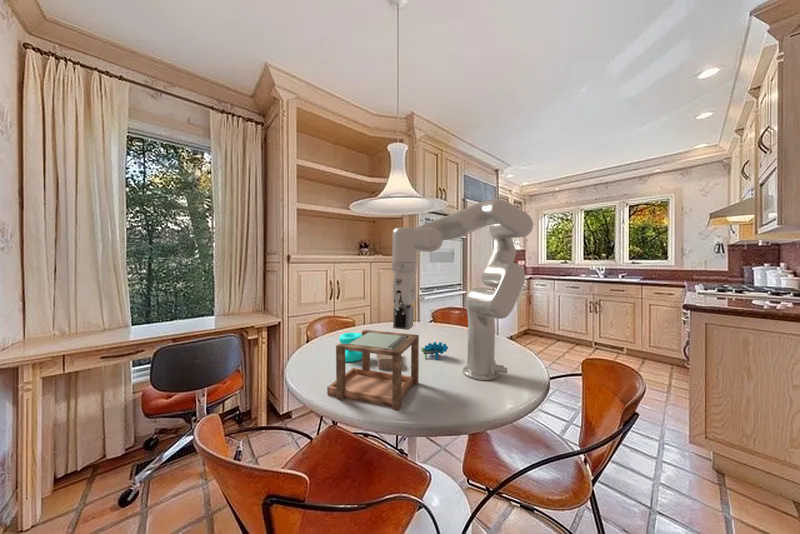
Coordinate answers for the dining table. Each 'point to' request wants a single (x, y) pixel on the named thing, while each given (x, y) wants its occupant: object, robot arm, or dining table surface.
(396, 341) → the trapdoor
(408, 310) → the grey squarish block
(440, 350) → the gear
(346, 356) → the donuts
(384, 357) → the brick
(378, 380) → the frame
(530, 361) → the dining table surface
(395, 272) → the robot arm
